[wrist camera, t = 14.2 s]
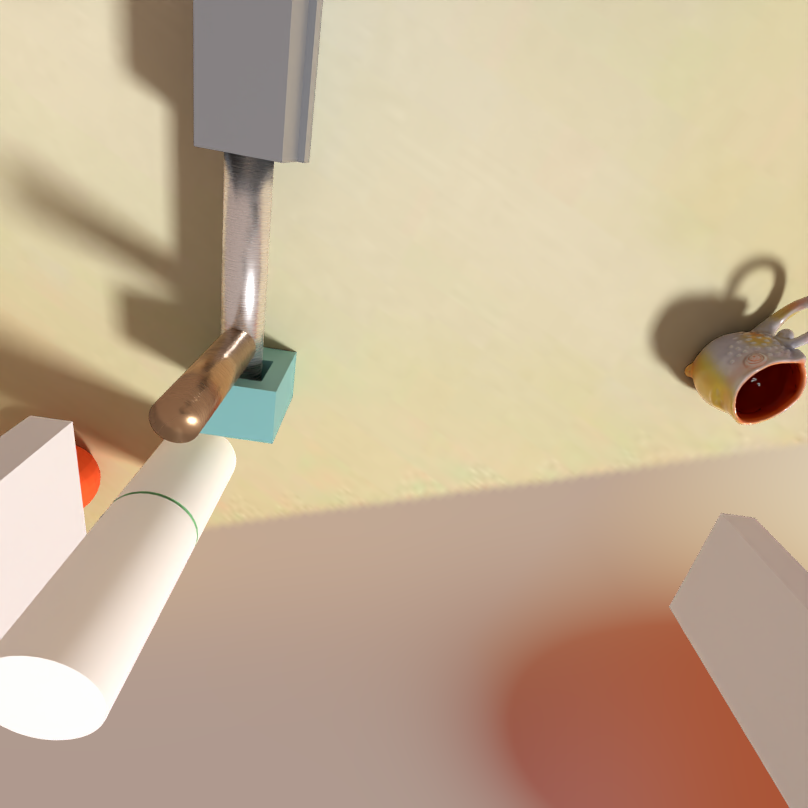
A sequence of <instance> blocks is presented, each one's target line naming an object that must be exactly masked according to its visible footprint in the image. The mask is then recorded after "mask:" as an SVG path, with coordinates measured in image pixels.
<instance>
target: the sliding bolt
mask: <svg viewBox="0 0 808 808" xmlns="http://www.w3.org/2000/svg"><path fill="white" fill-rule="evenodd" d="M273 170H274V161H270V160H264V159H259V158H254V157H249V156H243V155H238V154H233V153H227V152H224V185H223V238H222V291H221V336H220V337H219V338H218V339H217V340H216V341H215V342H214V343H213V344H212V345H211V346H210V347H209V348H208V349H207V350H206V351H205V352H204V353H203V354H202V355H201V356H200V357H199V358H198V359H197V360H196V361H195V362H194V363H193V364H192V365H191V366H190V367H189V368H188V369H187V371H186V372H185V373H184V374H183V375H182V376H181V377H180V378H179V379H178V380H177V381H176V382H175V383H174V384H173V385H172V386H171V387H170V388H169V389H168V390H167V391H166V392H165V393H164V394H163V395H162V396H161V397H160V398H159V399H158V400H157V401H156V402H155V403H154V404H153V406H152V407H151V409H150V412H149V421H150V424H151V426H152V428H153V430H154V431H155V432H156V433H157V434H158V435H159V436H160V437H162V438H163V439H165V440H167V441H170V442H173V443H186V442H190V441H192V440H193V439H195V438H196V437H197V436H198V435H199V433H200V432H201V430H202V429H203V428H204V426H205V425H206V423H207V422H208V421H209V419H210V418H211V416H212V415H213V413H214V412H215V411H216V409H217V408H218V406H219V405H220V404H221V402H222V401H223V399H224V398H225V397H226V395H227V394H228V392H229V391H230V389H231V388H232V387H233V385H234V384H235V382H236V381H237V380H238V378H241V379H248V380H254V381H261V378H262V361H263V344H264V326H265V309H266V291H267V274H268V257H269V239H270V222H271V205H272V187H273Z"/></svg>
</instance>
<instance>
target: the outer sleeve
mask: <svg viewBox="0 0 808 808" xmlns="http://www.w3.org/2000/svg"><path fill="white" fill-rule="evenodd" d="M322 4H323V0H193V66H194V146H196V147H201V148H206V149H212V150H217V151H222V152H227V153H233V154H238V155H243V156H249V157H254V158H259V159H264V160H270V161H275V162H280V163H286V162H302V163H308V162H309V157H310V146H311V134H312V122H313V110H314V98H315V87H316V75H317V63H318V51H319V39H320V28H321V16H322Z"/></svg>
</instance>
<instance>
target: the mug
mask: <svg viewBox="0 0 808 808" xmlns="http://www.w3.org/2000/svg"><path fill="white" fill-rule="evenodd" d="M806 308H808V296H807V297H804V298H801V299H799V300H796V301H794V302H792V303H790V304H788V305H787V306H785V307H783V308H782V309H780V310H779V311H777V312H776V313H774V314H773V315H771V316H770V317H768V318H767V319H765V320H764V321H763V322H761V323H760V324H759V325H757V326H756V327H755V328H754V329H752V330H751V331H749V332H736V333H730V334H726V335H723V336H720V337H718V338H716V339H714V340H713V341H711V342H710V343H709V344H708V345H706V346H705V347H704V348H703V349H702V350H701V352H700V353H699V354H698V356H697V357H696V358H695V360H694V362H693V363H691V364H690V365H688V366H687V367H686V368H685V375H686V376H688V377H691V378H692V379H693V382H694V385H695V388H696V390H697V392H698V394H699V395H700V396H701V397H702V398H703V399H704V400H705V401H706V402H707V403H708V404H710V405H711V406H713V407H714V408H716V409H718V410H720V411H723V412H725V413H728V414H729V415H730V416H732V417H733V418H734V420H735V421H736V422H737V423H739V424H741V425H754V424H758V423H761V422H763V421H766V420H768V419H771V418H773V417H775V416H777V415H779V414H781V413H783V412H784V411H786V410H787V409H789V408H790V407H791V406H792V405H793V404H794V403H795V402H796V401H797V400H798V399H799V398H800V396H801V395H802V393H803V391H804V389H805V386H806V383H807V373H806V369H805V367H806V366H805V362H806V357H805V355H804V354H803V353H802V352H801V351H800V350H798V349H795V348H796V347H799V346H802V345H804V344H807V343H808V332H807V333H805V334H803V335H801V336H799V337H796V338H794V333H793V331H791V330H790V329H783V330H781V331H779V332H778V333H777V335H776V336H775V333H776V331H777V330H778V329H779V327H780V326H781V325H782V324H783V323H784V322H786V321H787V320H788V319H789V318H790V317H792V316H793V315H795V314H796V313H798V312H800V311H801V310H803V309H806Z"/></svg>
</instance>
